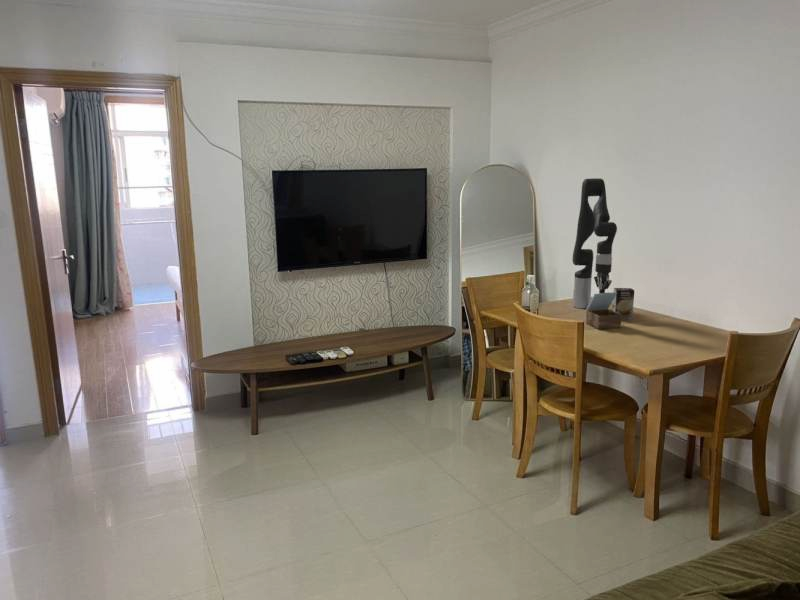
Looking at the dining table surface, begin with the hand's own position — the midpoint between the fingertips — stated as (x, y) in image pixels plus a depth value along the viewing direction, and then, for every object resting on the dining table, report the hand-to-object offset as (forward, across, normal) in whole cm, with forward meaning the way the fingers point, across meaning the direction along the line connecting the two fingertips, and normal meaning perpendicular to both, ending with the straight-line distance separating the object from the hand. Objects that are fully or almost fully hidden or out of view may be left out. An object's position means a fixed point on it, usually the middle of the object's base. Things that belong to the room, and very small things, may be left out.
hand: (601, 296), depth 300 cm
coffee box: (+15, -8, +17) cm, 24 cm away
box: (+15, +2, 0) cm, 15 cm away
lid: (+3, 0, 0) cm, 3 cm away
